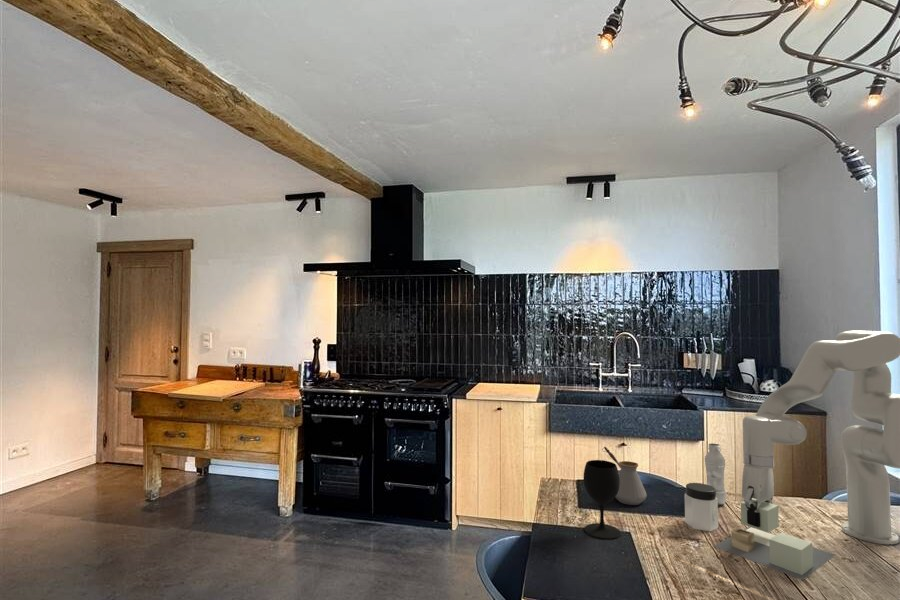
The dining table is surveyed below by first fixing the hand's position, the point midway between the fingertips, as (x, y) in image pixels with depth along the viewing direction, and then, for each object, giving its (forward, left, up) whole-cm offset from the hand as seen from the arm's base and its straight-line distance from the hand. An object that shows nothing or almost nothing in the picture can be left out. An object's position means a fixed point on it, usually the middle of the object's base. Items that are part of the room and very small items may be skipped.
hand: (759, 521), depth 136 cm
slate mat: (+6, +6, -5) cm, 9 cm away
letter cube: (+11, 0, -4) cm, 12 cm away
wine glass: (+34, -29, -5) cm, 45 cm away
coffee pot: (+4, -44, -5) cm, 44 cm away
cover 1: (0, 0, -1) cm, 1 cm away
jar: (+6, -14, -5) cm, 16 cm away
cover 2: (+11, +12, -4) cm, 16 cm away
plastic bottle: (-17, -21, -5) cm, 28 cm away
